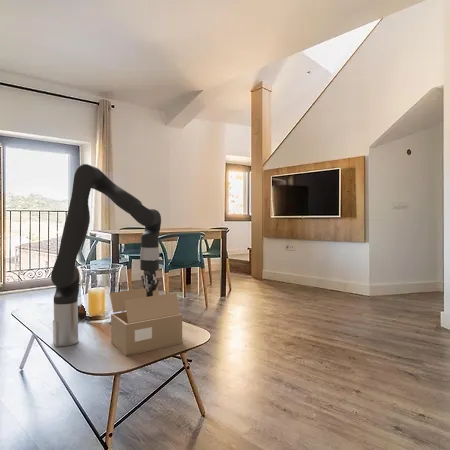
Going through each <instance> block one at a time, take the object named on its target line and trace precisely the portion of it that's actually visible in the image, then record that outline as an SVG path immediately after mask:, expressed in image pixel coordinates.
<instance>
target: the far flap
mask: <svg viewBox="0 0 450 450" xmlns="http://www.w3.org/2000/svg"><path fill="white" fill-rule="evenodd" d="M156 295H160V292H159V288H158V286H157V288H156V290H155V291H153V296H156ZM109 297H110V302H111V307H112V308H111V309H112V310H113V313H114V312H121V311H125V312H126V306H125V300H128V299H135V298H142V297H146V289H144V287H143V288H137V289H129V290H122V291H121V290H120V291H113V292H109Z"/></svg>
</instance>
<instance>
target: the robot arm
mask: <svg viewBox="0 0 450 450" xmlns="http://www.w3.org/2000/svg"><path fill="white" fill-rule="evenodd" d="M92 189H93V190H95V191H97V192H99V193H102V194H103V195H104V196H106V197H107V198H108V199H110V200H111V202H113V204H115V205H116V206H117V207H118V208H120V209H121V210H122V211H124V212H125V213H127V214H129V215H130V216H131V218H133V219H134V220H135V221H136V222H137V223H138V224H140V225H141V226H143V227H144V232H143V233H142V234H141V235H140V236H141V237H140V255H139V256H140V257H139V258H140V259H139V260H140V261H139V262H140V263H139V264H140V266H139V267H140V271H142V272H143V275H141V276H140V278H141V282H142V285H143V288H144V289H146V297H149V296H153V291H155V290H156V288H157V287H158V284H159V282H160V280H159V279H157V273H156V271H158V270H159V269H160V248H159V247H160V246H159V242H160V241H159V236H160V230H161V226H162V225H161V224H162V216H161V213H160V211H158V209H154V208H148V207H146V206H145V205H143V203H142V201H141V200H140V199H138V198H137V197H136V196H134V195H132V194H131V193H130V192H128V191H126V190H125V189H124V188H121V187H120V186H119V185H117V184H116V183H115V182H113V181H112V180H111V179H110V178H109V177H108V176H106V174H105V173H104V172H103V171H102V170H101V169H100V168H98V167H96V166H93V165H91V164H88V163H83V164H81V165H79V166H78V167H77V168H76V169H75V173H74V176H73V183H72V190H71V196H70V200H69V205H68V210H67V212H66V213H67V214H66V217H65V221H64V225H63V230H62V234H61V239H60V244H59V250H58V254H57V256H56V259H55V262H54V265H53V268H52V270H51V274H50V280H51V282H52V284H53V285H54V286H55V293H54V296H53V320H52V335H53V336H52V338H53V339H52V340H53V341H52V343H53V344H54V346H55V347H56V348H57V347H58V348H59V347H69V346H72V345H76V344H77V343H78V342H79V318H78V306H79V299H78V298H79V293H80V272H79V268H78V266H76V263H77V259H78V255H79V252H80V250H81V249H82V246H83V245H84V242H85V240H86V237H87V235H88V231H89V227H90V222H91V215H90V208H89V198H90V195H91V190H92Z"/></svg>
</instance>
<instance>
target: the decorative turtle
mask: <svg viewBox="0 0 450 450" xmlns="http://www.w3.org/2000/svg"><path fill="white" fill-rule="evenodd" d="M82 304H83V303H81V304H78V319H80V320H84V319H85V318H86V317H87V316H86V311H85V308H84V306H83V305H82Z"/></svg>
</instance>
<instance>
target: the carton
mask: <svg viewBox="0 0 450 450" xmlns="http://www.w3.org/2000/svg"><path fill="white" fill-rule="evenodd" d="M110 332H111V333H110V335H111V336H110V339H111V344H112V345H114V346H115V348H117V350H119V351H120V352H121V353H122V354H123V355H124V356H125V357H129V356H133V355H137V354H141V353H146V352H150V351H154V350H158V349H164V348H166V347H167V348H168V347H172V346H175V345H180V344H183V314H182V313H180V314H176V315H170V316H165V317H159V318H154V319H148V320H142V321H137V322H131V323H128V319H127V313H126V311H125V312H121V313H114V314H111V317H110Z"/></svg>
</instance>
